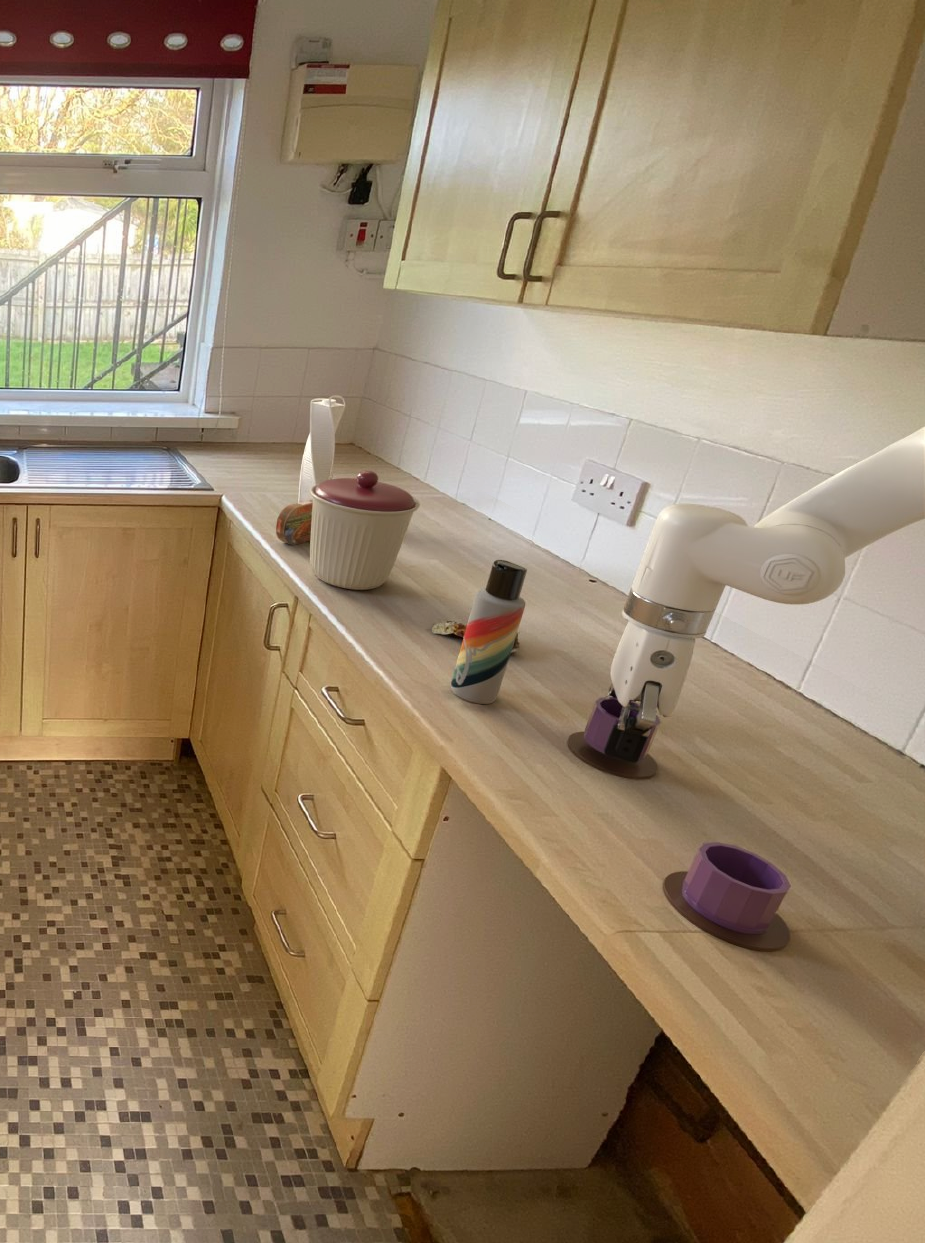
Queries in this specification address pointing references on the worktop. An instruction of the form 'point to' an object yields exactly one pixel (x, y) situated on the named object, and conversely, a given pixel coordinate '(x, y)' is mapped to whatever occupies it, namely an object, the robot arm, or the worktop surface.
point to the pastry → (460, 631)
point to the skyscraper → (320, 445)
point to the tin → (295, 523)
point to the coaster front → (766, 941)
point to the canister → (358, 530)
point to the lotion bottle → (490, 634)
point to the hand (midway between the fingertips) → (616, 741)
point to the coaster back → (611, 760)
